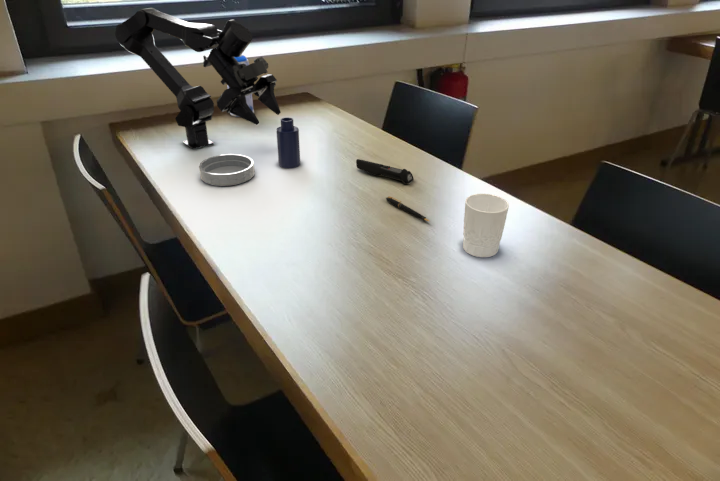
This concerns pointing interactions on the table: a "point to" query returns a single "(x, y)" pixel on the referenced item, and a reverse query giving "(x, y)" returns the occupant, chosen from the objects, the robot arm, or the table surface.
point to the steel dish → (226, 169)
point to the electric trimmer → (385, 171)
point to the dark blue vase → (288, 144)
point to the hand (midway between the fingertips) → (269, 118)
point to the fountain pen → (405, 208)
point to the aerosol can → (249, 99)
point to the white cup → (484, 224)
